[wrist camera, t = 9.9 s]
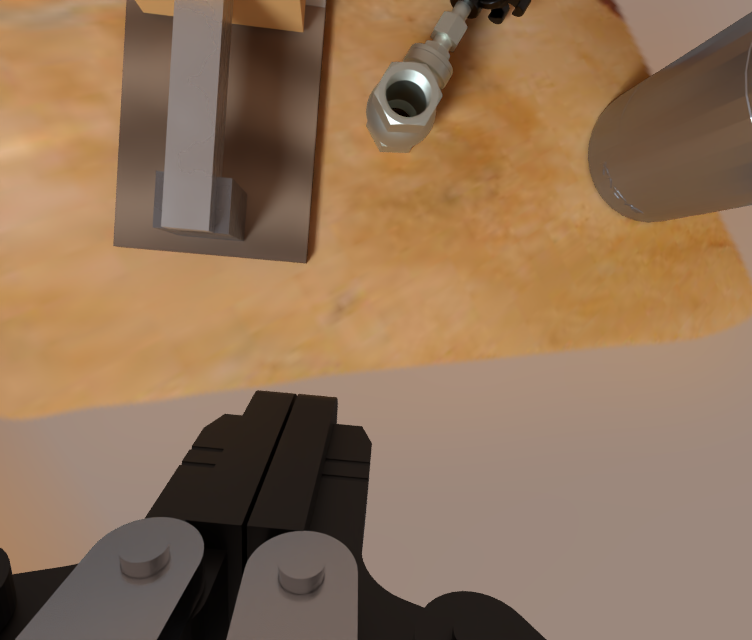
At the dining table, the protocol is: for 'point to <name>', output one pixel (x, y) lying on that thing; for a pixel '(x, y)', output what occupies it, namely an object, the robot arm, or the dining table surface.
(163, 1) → the collar
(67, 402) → the dining table surface
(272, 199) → the board
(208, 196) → the rectangular bar
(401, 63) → the valve
